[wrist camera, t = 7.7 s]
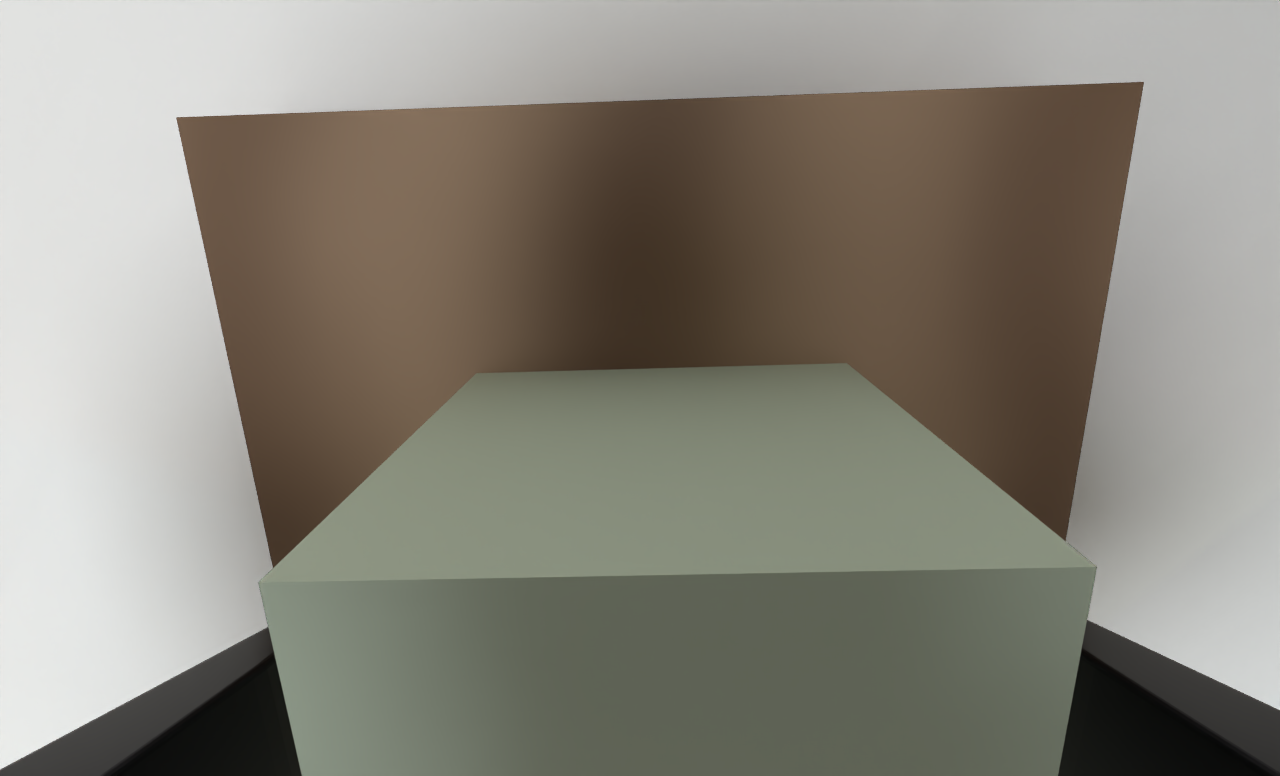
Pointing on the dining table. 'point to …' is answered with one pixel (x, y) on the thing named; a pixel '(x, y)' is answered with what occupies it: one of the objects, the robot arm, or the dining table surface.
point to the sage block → (678, 590)
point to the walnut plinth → (664, 262)
